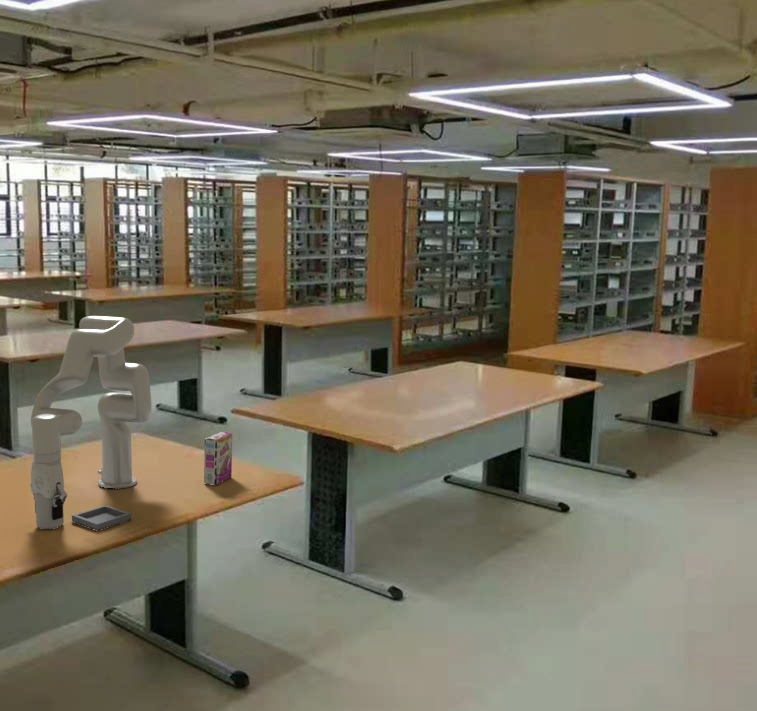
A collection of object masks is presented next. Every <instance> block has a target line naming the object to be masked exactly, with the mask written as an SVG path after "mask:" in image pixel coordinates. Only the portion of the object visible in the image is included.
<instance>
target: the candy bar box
mask: <svg viewBox="0 0 757 711" xmlns="http://www.w3.org/2000/svg"><path fill="white" fill-rule="evenodd" d="M232 453H233V433H231V432H223V431H220V432H217V433H215V434H213V435H210V436H208V437H206V438H204V464H203V465H204V468H203V469H204V470H203V471H204V473H203V476H204V477H203V478H204V479H203V480H204V483H206V484H213V485H216V486H218V485H220V484H222V483H223V482H222V481H224V480H226V479H228V478H230V477H231V478H232V469H233V468H232V466H233V465H232V464H233V460H232V459H233V454H232ZM231 478H230V479H231ZM228 480H229V479H228ZM226 481H227V480H226ZM221 482H222V483H221ZM224 482H225V481H224ZM204 483H203V484H204ZM219 483H220V484H219ZM206 484H205V485H206ZM217 484H218V485H217Z"/></svg>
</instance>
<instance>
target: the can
mask: <svg viewBox="0 0 757 711" xmlns="http://www.w3.org/2000/svg"><path fill="white" fill-rule="evenodd" d="M39 491H40V490H39ZM58 494H59V493H58V492H57V493H55V495H58ZM55 495H54V496H55ZM35 496H36V500H35V501H36V513H35V516H36V517H35V520H36V523H35V524H36V526H37V528H39V529H40V528H41V529H40V530H43V529H52V530H55V529H54V528H56V529H58V528H57V527H59V526H60V527H61V526H62V525H64V522H65V521H64V516H65V514H63V517H62V518H60V519H56V520H53V519H52V507H53V503H52V500H51V499H47V498H45V497H44V496H43V495H42V494H41V493H39V492H38V493H36V494H35ZM58 499H59V497H56V498H55V500H56V501H57V500H58ZM60 527H59V528H60Z"/></svg>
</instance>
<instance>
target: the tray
mask: <svg viewBox="0 0 757 711" xmlns="http://www.w3.org/2000/svg"><path fill="white" fill-rule="evenodd" d="M129 520H131V521H132V512H128V511H125V510H122V509H120V508H116V507H113V506H110V505H107V504H105V505H100V506H98V507H95V508H91V509H87V510H85V511H82V512H79V513H75V514H72V515H71V522H72V521H73V522H75V523H78V524H80V525H83V526H86V527H89V528H91V529H95V530H97V531H98V530H101V529H104V528H107V527H110V526H113V525H116V526H118V525H117V524H119V525H121V524H120V523H122V524H124V523H123V522H125V523H127V522H126V521H128V522H130V521H129ZM75 523H74V524H75ZM78 524H77V525H78ZM80 525H79V526H80ZM83 526H82V527H83ZM86 527H85V528H86ZM113 527H114V526H113ZM89 528H88V529H89ZM110 528H111V527H110ZM91 529H90V530H91ZM107 529H108V528H107ZM104 530H105V529H104ZM97 531H96V532H97ZM101 531H102V530H101ZM98 532H99V531H98Z"/></svg>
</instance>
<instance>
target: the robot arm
mask: <svg viewBox="0 0 757 711" xmlns="http://www.w3.org/2000/svg"><path fill="white" fill-rule="evenodd" d="M78 326H79V327H78V328H79V329H75V330H74V331H72V332H71V333H70V335H69V338H68V341H67V344H66V348H65V351H64V355H63V358H62V360H61V365H60V368H59V372H58V374H56V375H55V376H54V377H53V378H52V379H51V380H49V381H48V382H47V383H46V384H45V385H44V387H42V388H41V390H40V391H39V393H38V394H37V396H36V399H35V400H34V404H33V408H32V410H31V415H30V425H31V429H32V430H31V431H32V432H31V434H32V457H33V458H32V464H31V469H30V471H31V472H30V484H29V486H30V492H32V495H33V500H34V510H35V511H34V512H35V514H36V496H35V494H36V493H38V492H39V493H41V494H42V495H43V496H44V497H45V498H47V499H51V500H52V503H53V507H52V519H53V520H56V519H60V518H62V517H63V515H64V505H65V502H66V500H67V497H68V492H66V490H65V482H64V473H63V472H64V471H63V466H62V465H63V464H62V443H61V439H62V437H65V436H72V435H74V434H75V433H78V431H79V430H80V429H81V427H82V424H83V417H82V415H81V413H79V412H78V411H77V410H74V409H68V408H67V409H65V408H58V407H56V408H53V407H52V405H53V403H54V401H55V400H56V398H58V397H59V396H61V395H62V394H64V393H66V392H67V391H70V390H72V389H75V388H78V387H80V386H83V385H84V384H86V383H87V382H88V380H89V377H90V373H91V368H92V365H93V362H94V359H95V358H97V361H98V362H97V363H98V371H99V372H98V373H99V379H100V380H99V381H100V384H101V387H102V388H103V389H105V390H108V391H116V392H107V393H104V394H102V395H101V396H100V398H99V399H98V402H97V410H98V411H97V412H98V415H99V419H100V426H101V427H100V428H101V453H102V454H101V455H102V460H101V461H102V462H101V463H102V467H101V469H99V470H97V474H98V475H101V478H99V480H98V481H97V482H98V483H97V485H98V486H99V487H100V486H101V488H102V487H104V488H103V489H107V488H113V489H112V490H116V489H117V490H118V489H120V490H121V489H126V488H130V487H132V486H134V485H136V484H137V481H138V480H137V478H136V477H135V476H133V468H132V463H133V462H132V460H133V459H132V456H133V455H132V432H131V429H130V426H129V425H128V423H139V424H140V423H141V424H142V423H145V422H147V421H148V420H149V419H150V417H151V414H152V394H151V384H150V375H149V371H148V370H147V367H146V366H145V365H143V364H141V363H135V362H127V360H126V357H125V349H124V348H125V347H126V346H127V345H128V344H129V343H130V342H131V341H132V339H133V337H134V334H135V327H134V326H135V325H134V323H133V322H132V321H131V320H130V319H129V318H127V317H119V316H105V315H89V316H85V317H82V318H81V319H80V321H79V324H78ZM125 392H126V393H125ZM127 392H130V393H127ZM114 488H115V489H114ZM39 490H40V491H39ZM57 492H58V493H59V494H58V495H55V493H57ZM54 495H55V496H54ZM56 497H59V499H58V500H57V501H56V500H55V498H56Z"/></svg>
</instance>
